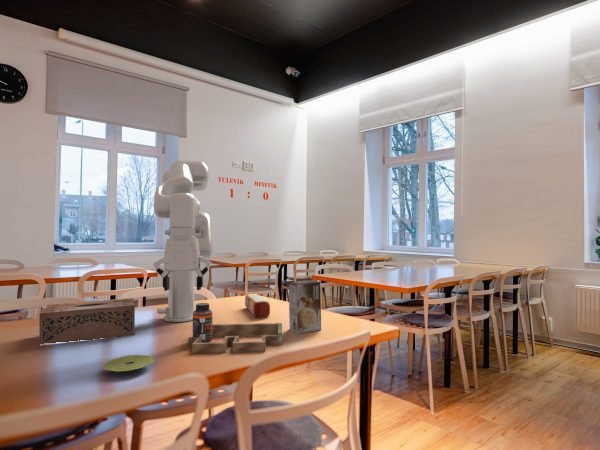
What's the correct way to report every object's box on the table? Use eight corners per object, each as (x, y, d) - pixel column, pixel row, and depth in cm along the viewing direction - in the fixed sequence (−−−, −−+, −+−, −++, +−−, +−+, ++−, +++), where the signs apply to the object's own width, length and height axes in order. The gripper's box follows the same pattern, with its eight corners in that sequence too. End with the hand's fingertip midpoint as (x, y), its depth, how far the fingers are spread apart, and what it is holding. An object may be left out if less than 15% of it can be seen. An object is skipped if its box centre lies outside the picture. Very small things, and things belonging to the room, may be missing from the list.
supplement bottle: (207, 344, 113) (207, 306, 113) (188, 343, 114) (188, 305, 114) (215, 338, 119) (215, 302, 119) (198, 337, 120) (197, 301, 120)
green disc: (127, 360, 100) (126, 352, 100) (163, 364, 97) (163, 356, 97) (92, 376, 89) (92, 367, 89) (132, 381, 86) (132, 372, 86)
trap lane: (183, 353, 105) (183, 340, 105) (196, 335, 122) (196, 324, 122) (282, 350, 106) (282, 338, 106) (281, 333, 123) (281, 322, 123)
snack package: (244, 308, 164) (244, 292, 164) (259, 307, 166) (259, 291, 166) (253, 319, 144) (253, 301, 144) (270, 318, 146) (270, 300, 146)
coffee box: (312, 325, 133) (311, 279, 133) (321, 330, 127) (321, 282, 128) (288, 329, 129) (288, 281, 129) (297, 333, 123) (296, 284, 123)
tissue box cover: (39, 347, 112) (39, 313, 113) (47, 335, 126) (47, 304, 126) (134, 336, 123) (134, 305, 124) (133, 325, 137) (133, 297, 137)
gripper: (149, 234, 113) (149, 292, 112) (208, 233, 114) (209, 291, 113) (157, 234, 120) (158, 288, 120) (213, 233, 121) (213, 287, 121)
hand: (183, 289), depth 116 cm, fingers open, 9 cm apart
